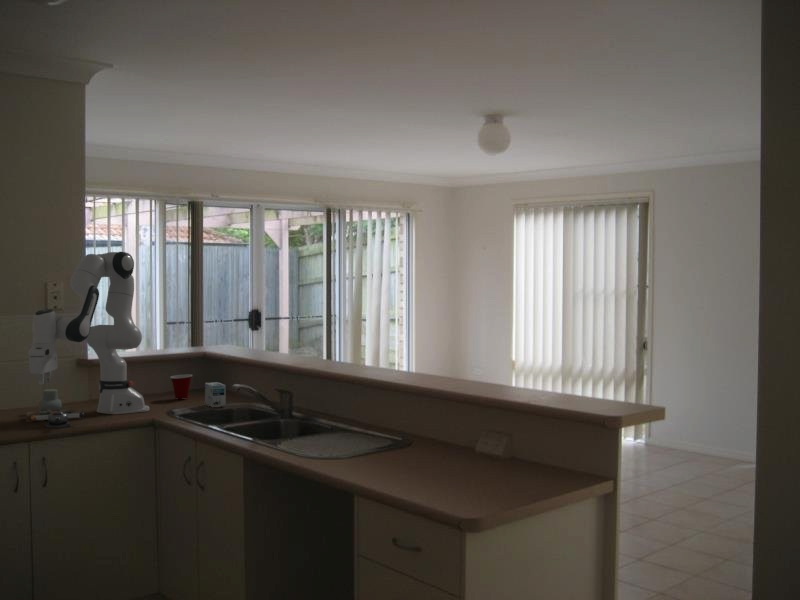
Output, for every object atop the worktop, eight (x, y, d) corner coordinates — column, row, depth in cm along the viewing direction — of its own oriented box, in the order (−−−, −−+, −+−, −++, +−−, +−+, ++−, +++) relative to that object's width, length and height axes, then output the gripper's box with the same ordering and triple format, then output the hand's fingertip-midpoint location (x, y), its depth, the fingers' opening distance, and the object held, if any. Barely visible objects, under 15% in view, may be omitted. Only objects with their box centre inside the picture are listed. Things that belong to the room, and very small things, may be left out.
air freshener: (62, 413, 335) (62, 391, 335) (41, 415, 331) (41, 392, 330) (58, 409, 344) (58, 387, 344) (38, 411, 340) (38, 389, 340)
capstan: (83, 417, 321) (83, 406, 321) (85, 426, 303) (85, 414, 303) (31, 420, 313) (31, 408, 313) (30, 429, 295) (30, 417, 295)
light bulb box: (226, 407, 357) (226, 384, 357) (212, 408, 353) (212, 385, 353) (217, 403, 366) (217, 381, 366) (204, 405, 362) (204, 382, 362)
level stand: (82, 414, 333) (82, 405, 333) (83, 418, 324) (83, 408, 324) (27, 418, 324) (27, 408, 324) (26, 422, 315) (26, 412, 315)
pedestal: (69, 423, 314) (69, 421, 314) (70, 427, 306) (70, 425, 306) (45, 425, 310) (45, 422, 310) (45, 429, 302) (45, 426, 302)
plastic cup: (172, 397, 382) (172, 373, 382) (194, 397, 383) (194, 373, 383) (167, 401, 371) (167, 376, 371) (190, 401, 373) (190, 376, 372)
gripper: (46, 347, 319) (46, 379, 319) (26, 352, 298) (26, 387, 299) (61, 347, 319) (61, 379, 320) (42, 352, 299) (42, 387, 299)
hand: (44, 383), depth 309 cm, fingers open, 4 cm apart
